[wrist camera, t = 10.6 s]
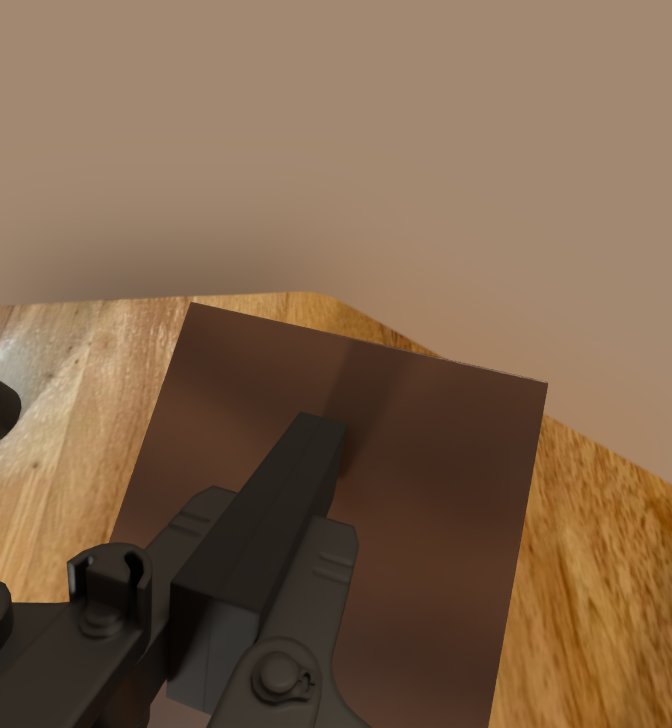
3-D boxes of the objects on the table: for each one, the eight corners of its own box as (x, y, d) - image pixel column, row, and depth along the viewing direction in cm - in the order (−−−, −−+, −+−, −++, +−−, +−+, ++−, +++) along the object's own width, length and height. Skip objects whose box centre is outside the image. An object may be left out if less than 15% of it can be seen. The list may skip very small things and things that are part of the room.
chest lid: (199, 308, 16) (190, 300, 15) (540, 385, 14) (549, 381, 13) (39, 784, 13) (18, 806, 13) (435, 972, 11) (439, 1011, 10)
